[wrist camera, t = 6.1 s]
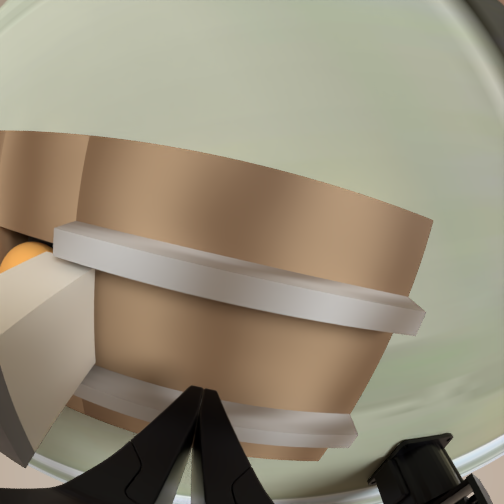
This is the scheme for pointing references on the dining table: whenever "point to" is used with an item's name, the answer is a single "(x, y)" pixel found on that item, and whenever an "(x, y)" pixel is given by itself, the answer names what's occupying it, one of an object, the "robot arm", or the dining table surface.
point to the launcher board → (218, 282)
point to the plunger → (42, 347)
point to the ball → (23, 254)
